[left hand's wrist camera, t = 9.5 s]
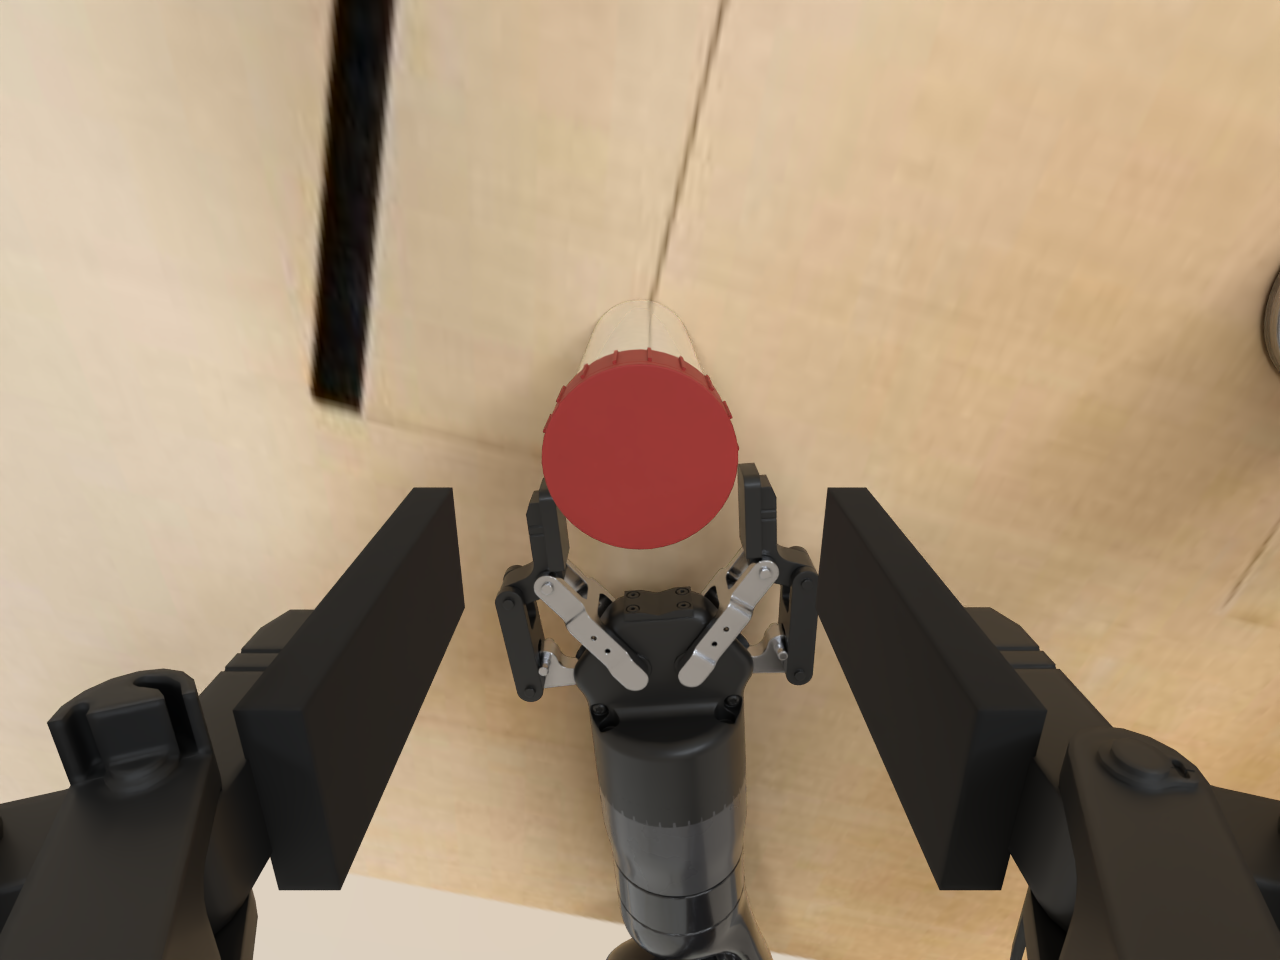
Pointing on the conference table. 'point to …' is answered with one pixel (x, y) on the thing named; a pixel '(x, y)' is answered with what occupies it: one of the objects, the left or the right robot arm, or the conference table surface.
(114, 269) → the conference table surface
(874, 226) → the conference table surface
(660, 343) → the jar
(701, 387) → the lid
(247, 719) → the left robot arm
